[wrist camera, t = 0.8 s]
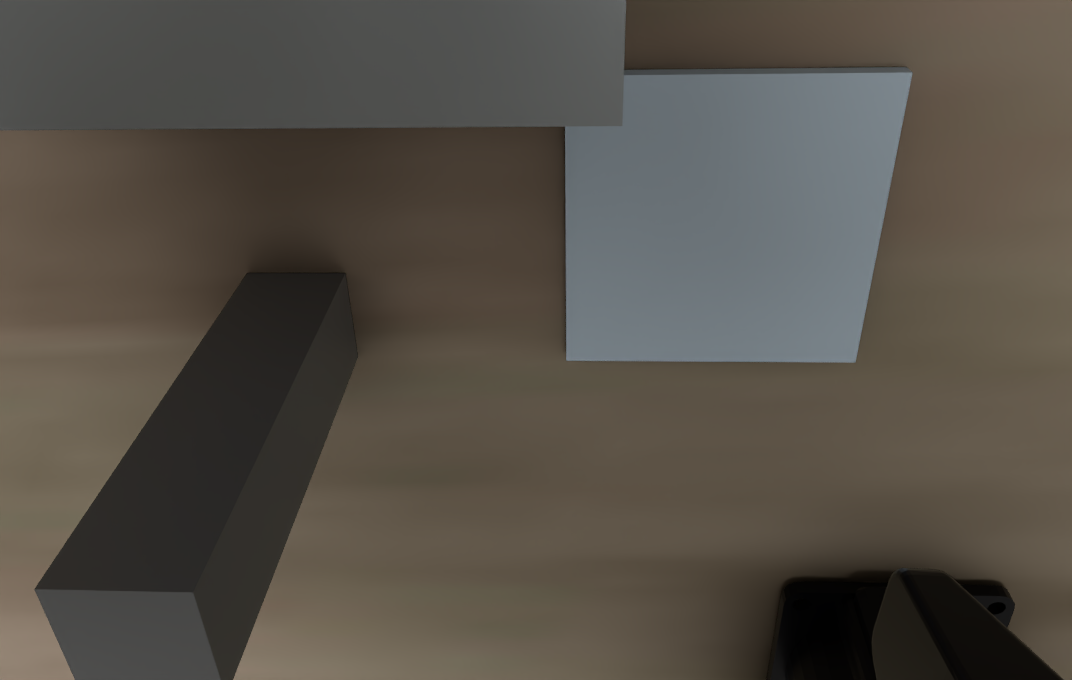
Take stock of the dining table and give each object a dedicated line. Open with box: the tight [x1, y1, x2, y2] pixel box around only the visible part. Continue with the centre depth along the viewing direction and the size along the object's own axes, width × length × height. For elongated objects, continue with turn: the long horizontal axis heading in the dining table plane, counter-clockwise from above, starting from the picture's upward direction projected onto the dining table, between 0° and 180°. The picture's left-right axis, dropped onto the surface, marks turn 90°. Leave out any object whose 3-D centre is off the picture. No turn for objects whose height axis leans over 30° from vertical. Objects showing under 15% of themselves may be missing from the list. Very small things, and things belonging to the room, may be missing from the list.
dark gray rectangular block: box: [35, 273, 358, 680], centre depth 18 cm, size 2×2×10 cm
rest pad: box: [565, 67, 913, 362], centre depth 20 cm, size 7×7×1 cm
